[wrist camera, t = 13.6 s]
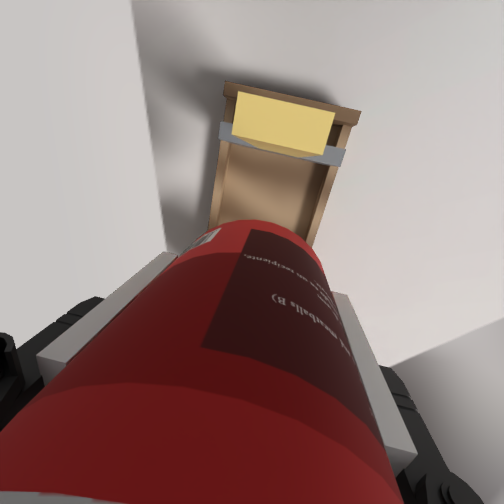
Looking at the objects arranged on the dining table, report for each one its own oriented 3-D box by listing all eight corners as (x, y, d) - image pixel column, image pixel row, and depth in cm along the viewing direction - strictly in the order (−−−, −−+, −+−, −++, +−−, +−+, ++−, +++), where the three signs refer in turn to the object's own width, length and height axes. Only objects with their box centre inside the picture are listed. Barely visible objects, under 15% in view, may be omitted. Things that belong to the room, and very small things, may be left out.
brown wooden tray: (232, 92, 23) (219, 72, 18) (349, 118, 23) (370, 106, 18) (200, 302, 33) (185, 329, 27) (283, 322, 32) (283, 354, 27)
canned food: (179, 325, 15) (-43, 691, 5) (189, 198, 12) (-430, 498, 2) (300, 353, 14) (337, 813, 4) (345, 232, 11) (848, 885, 1)
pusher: (237, 131, 24) (140, 69, 7) (327, 152, 23) (437, 135, 7) (234, 144, 24) (138, 113, 8) (323, 164, 24) (418, 177, 7)
